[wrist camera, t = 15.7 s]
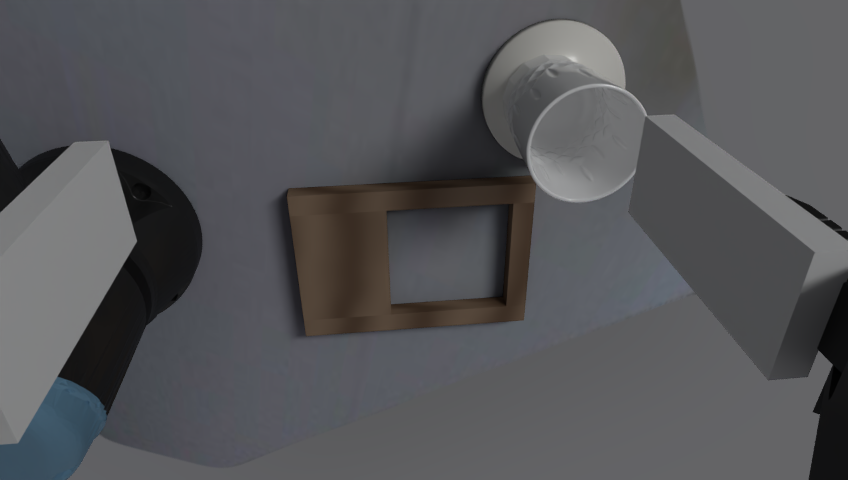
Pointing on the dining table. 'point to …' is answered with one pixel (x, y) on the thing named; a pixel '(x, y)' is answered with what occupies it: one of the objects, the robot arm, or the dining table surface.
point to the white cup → (573, 128)
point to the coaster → (536, 41)
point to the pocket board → (369, 262)
